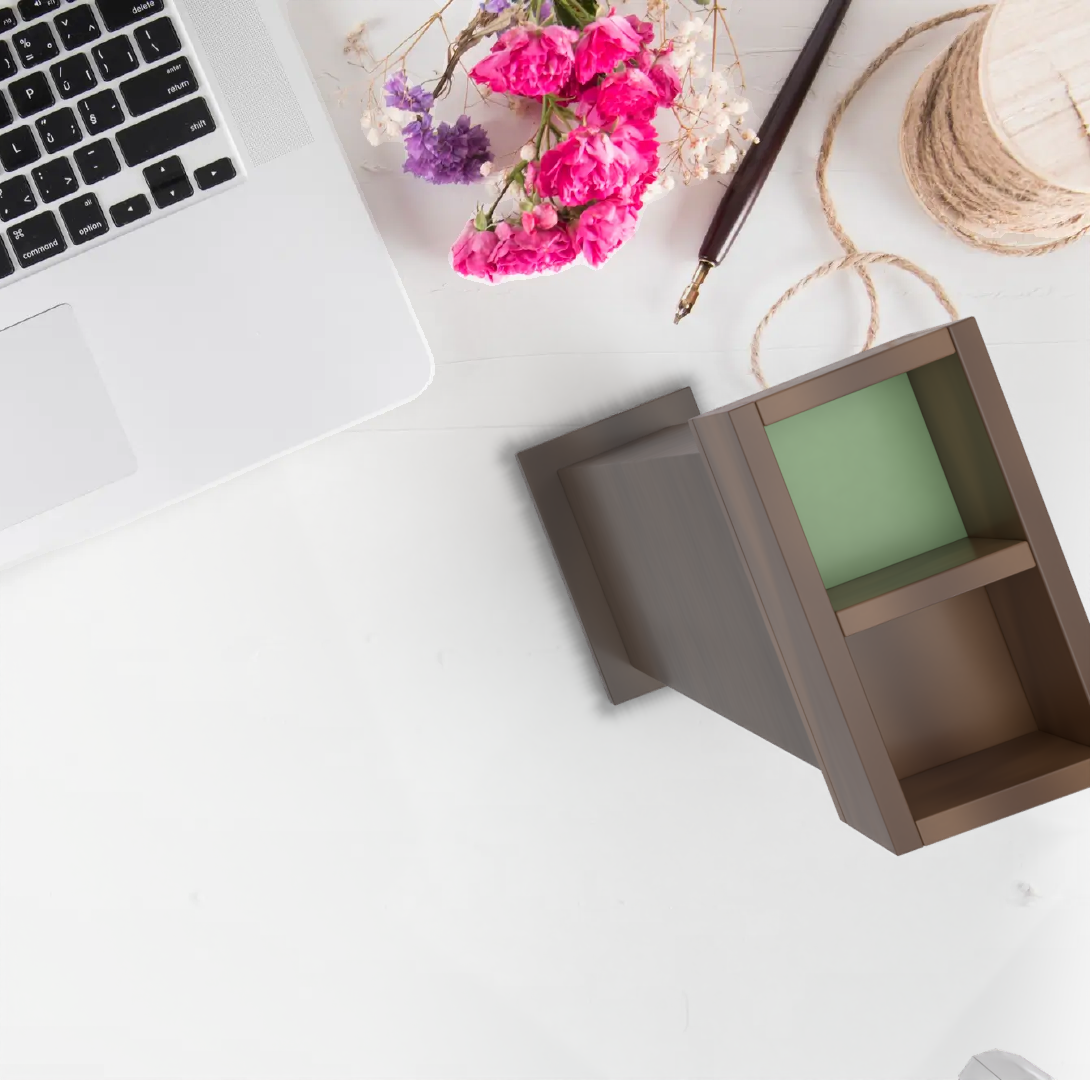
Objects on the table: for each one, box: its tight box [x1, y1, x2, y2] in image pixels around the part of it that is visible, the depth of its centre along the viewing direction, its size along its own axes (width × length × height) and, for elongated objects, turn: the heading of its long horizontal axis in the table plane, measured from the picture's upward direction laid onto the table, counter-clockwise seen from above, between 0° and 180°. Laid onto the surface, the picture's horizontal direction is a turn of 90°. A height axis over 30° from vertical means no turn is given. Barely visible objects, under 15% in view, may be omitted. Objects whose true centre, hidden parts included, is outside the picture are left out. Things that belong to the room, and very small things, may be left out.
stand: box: [514, 385, 821, 771], centre depth 54 cm, size 12×18×28 cm, turn 21°
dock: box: [688, 315, 1090, 857], centre depth 38 cm, size 9×17×4 cm, turn 21°
